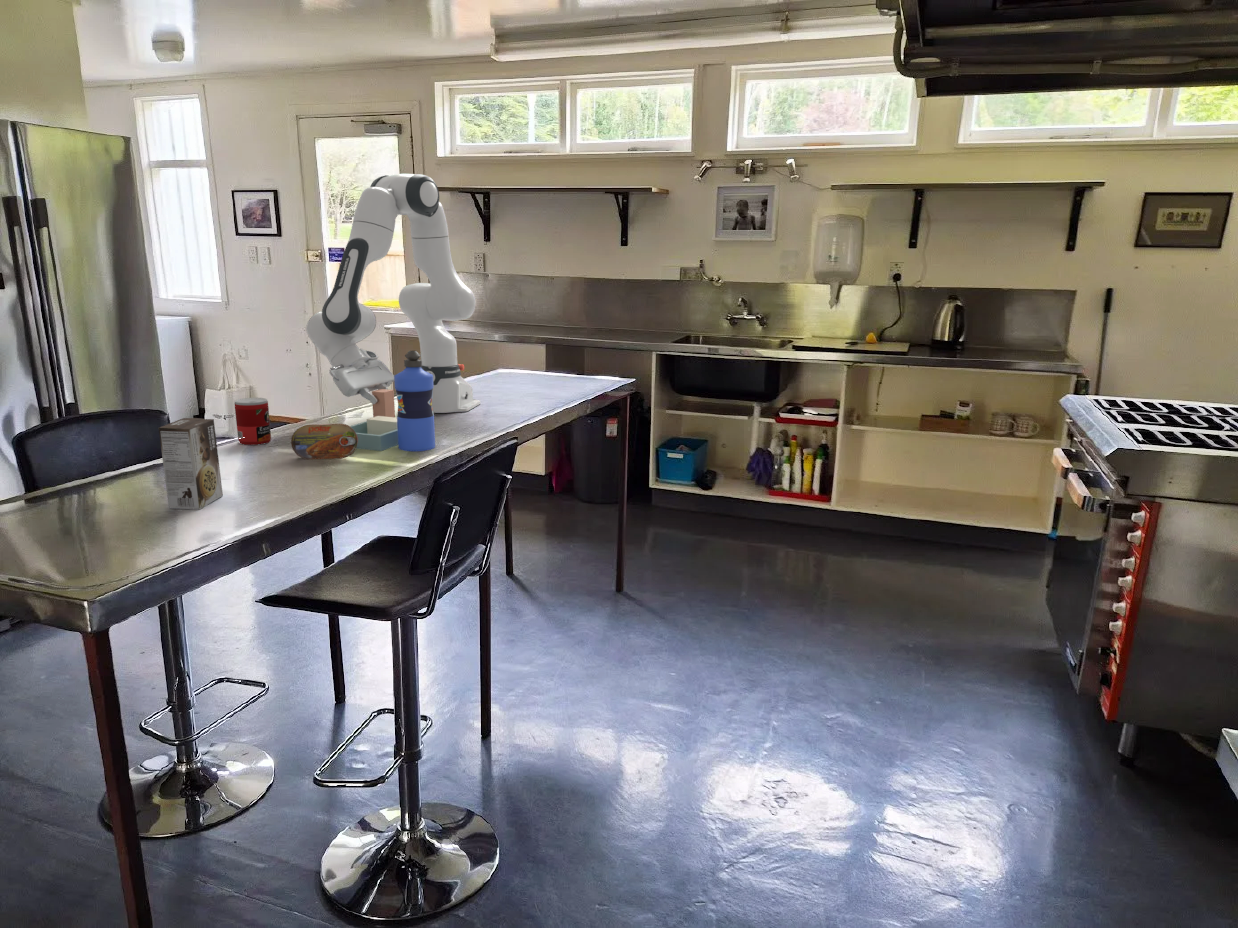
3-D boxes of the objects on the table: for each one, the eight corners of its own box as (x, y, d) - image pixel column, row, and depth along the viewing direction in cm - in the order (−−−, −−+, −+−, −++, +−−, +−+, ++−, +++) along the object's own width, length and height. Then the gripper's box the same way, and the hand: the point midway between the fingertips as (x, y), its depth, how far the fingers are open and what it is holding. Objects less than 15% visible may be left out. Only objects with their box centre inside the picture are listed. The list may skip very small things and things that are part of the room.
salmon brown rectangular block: (383, 427, 228) (381, 388, 225) (395, 428, 226) (393, 390, 223) (374, 430, 224) (371, 391, 221) (386, 431, 222) (384, 392, 219)
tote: (377, 434, 220) (376, 418, 219) (421, 439, 216) (420, 422, 214) (334, 448, 203) (332, 431, 202) (381, 454, 199) (380, 436, 198)
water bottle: (401, 455, 198) (396, 354, 191) (395, 447, 206) (390, 349, 200) (439, 452, 202) (435, 352, 195) (431, 444, 210) (427, 348, 203)
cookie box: (192, 495, 164) (183, 417, 160) (224, 496, 164) (215, 418, 159) (167, 509, 155) (156, 427, 151) (200, 510, 155) (190, 427, 151)
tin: (292, 460, 192) (289, 425, 190) (294, 457, 195) (291, 423, 193) (358, 458, 195) (356, 424, 193) (359, 455, 198) (357, 421, 196)
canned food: (263, 445, 205) (259, 403, 202) (232, 445, 205) (228, 402, 202) (276, 439, 212) (273, 397, 210) (246, 438, 213) (242, 397, 210)
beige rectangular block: (379, 434, 217) (378, 415, 215) (408, 437, 214) (407, 418, 213) (367, 437, 212) (366, 419, 211) (397, 441, 209) (396, 422, 208)
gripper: (332, 360, 213) (366, 399, 212) (379, 351, 231) (410, 387, 231) (319, 376, 215) (353, 414, 215) (366, 366, 234) (397, 402, 233)
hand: (383, 400), depth 223 cm, fingers closed on salmon brown rectangular block, 4 cm apart
